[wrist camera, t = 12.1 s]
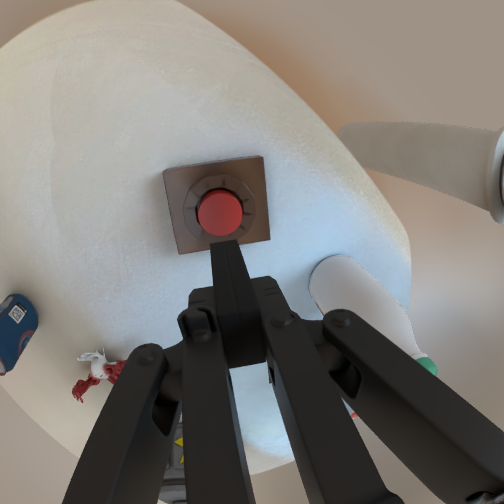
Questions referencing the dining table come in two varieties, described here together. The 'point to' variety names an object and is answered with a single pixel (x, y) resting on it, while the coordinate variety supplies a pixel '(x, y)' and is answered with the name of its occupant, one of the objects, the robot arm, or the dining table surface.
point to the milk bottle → (364, 302)
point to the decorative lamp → (174, 473)
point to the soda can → (15, 329)
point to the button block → (210, 179)
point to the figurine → (97, 372)
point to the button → (219, 213)
